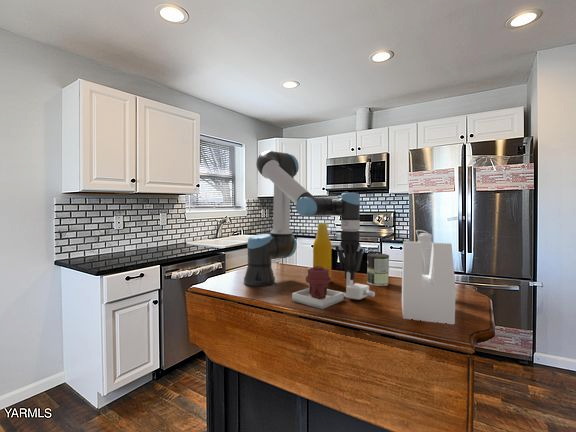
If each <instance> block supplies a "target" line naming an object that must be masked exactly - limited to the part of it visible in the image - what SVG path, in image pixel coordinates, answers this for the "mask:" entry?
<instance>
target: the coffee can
mask: <svg viewBox="0 0 576 432" xmlns="http://www.w3.org/2000/svg"><path fill="white" fill-rule="evenodd" d="M366 255H367V261H366V263H367V267H366V268H367V271H366V274H367V275H366V279H367V280H366V283H367V284H369V286H370V285H371V286H376V287H383V286H384V287H386V286H388V285H389V275H390V274H389V271H390V269H389V268H390V267H389V266H390V265H389V264H390V263H389V262H390V254H386V253H377V252H375V253H374V252H373V253H367V254H366Z"/></svg>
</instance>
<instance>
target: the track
mask: <svg viewBox="0 0 576 432" xmlns="http://www.w3.org/2000/svg"><path fill="white" fill-rule="evenodd" d="M337 291H338V292H341V291H339V290H337ZM342 292H343V291H342ZM343 293H344V298H347V299H350V300H355V301H358V300H359V299H355V298H350V297H346V292H345V291H344V292H343Z"/></svg>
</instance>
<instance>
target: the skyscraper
mask: <svg viewBox="0 0 576 432" xmlns="http://www.w3.org/2000/svg"><path fill="white" fill-rule="evenodd" d="M418 232H420V233H418ZM415 233H416V236H417V242H421V253H422V275H429V270H430V260H431V251H432V242H433V240H432V238H433V234H431V233H429V232H428V231H425V230H423V229H416V230H415Z"/></svg>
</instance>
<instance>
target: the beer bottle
mask: <svg viewBox="0 0 576 432" xmlns="http://www.w3.org/2000/svg"><path fill="white" fill-rule="evenodd" d="M332 248H333V246H332V243H331V240H330V237H329V234H328V224H327V223H318V224H317V231H316V237H315V238H314V241H313V244H312V268H313V267H315V266H321V267H323V268H325V269H328V270H329V277H330V278H331V279H332V251H333V250H332Z"/></svg>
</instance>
